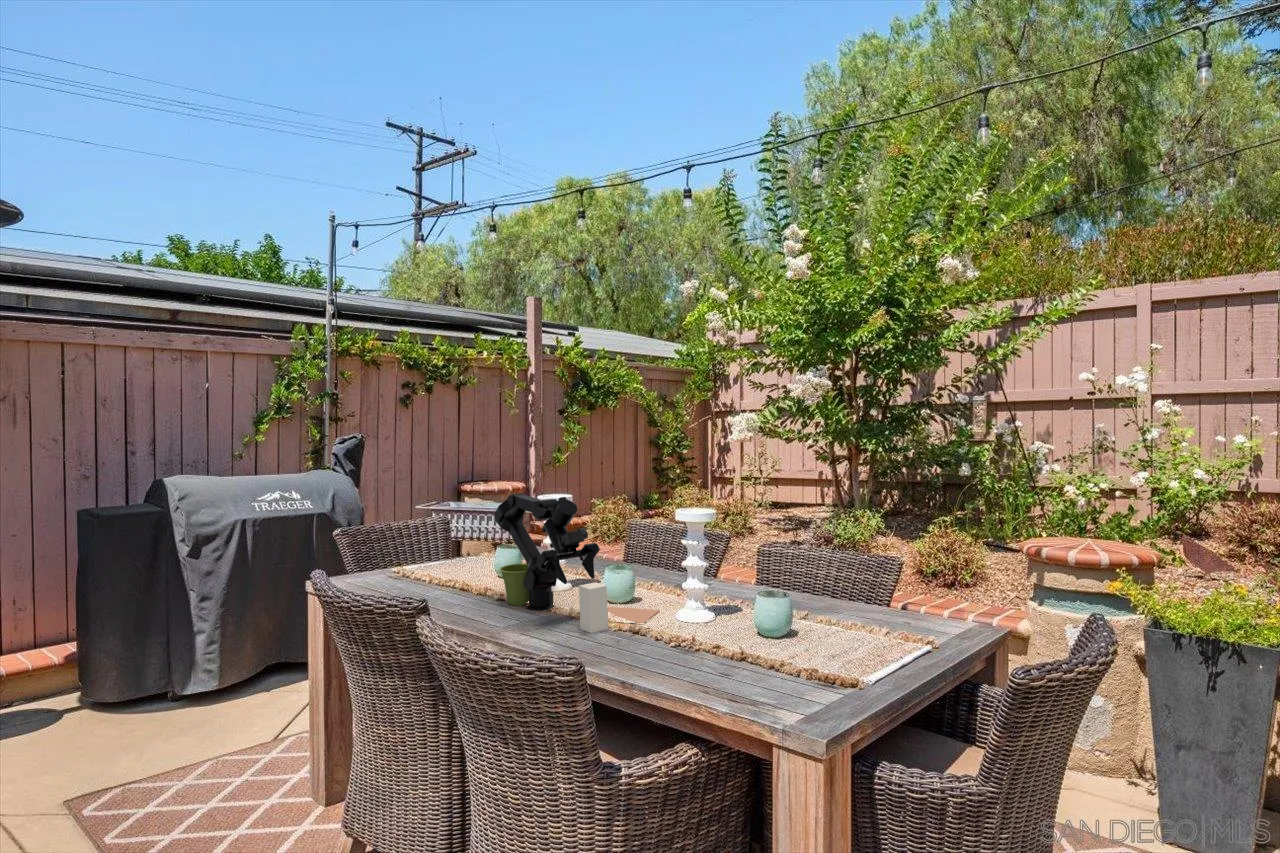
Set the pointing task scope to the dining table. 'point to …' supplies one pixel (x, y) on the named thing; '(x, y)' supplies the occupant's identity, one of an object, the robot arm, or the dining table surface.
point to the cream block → (593, 607)
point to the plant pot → (515, 583)
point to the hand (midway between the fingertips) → (580, 580)
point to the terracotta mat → (633, 613)
